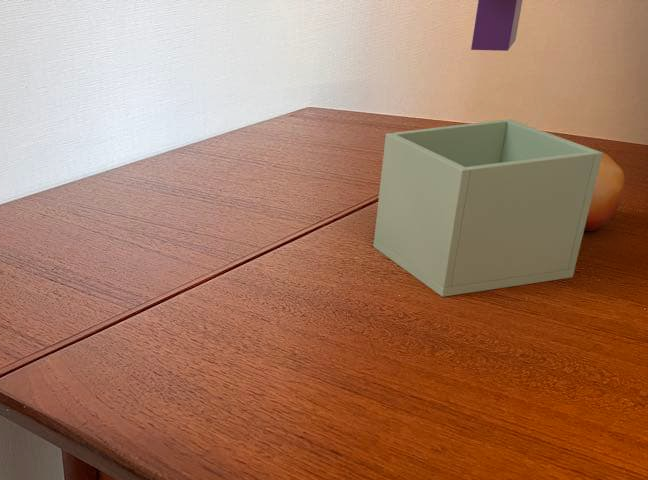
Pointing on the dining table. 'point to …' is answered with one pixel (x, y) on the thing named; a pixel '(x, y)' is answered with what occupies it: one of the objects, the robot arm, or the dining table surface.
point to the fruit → (605, 194)
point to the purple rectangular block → (496, 24)
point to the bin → (484, 205)
